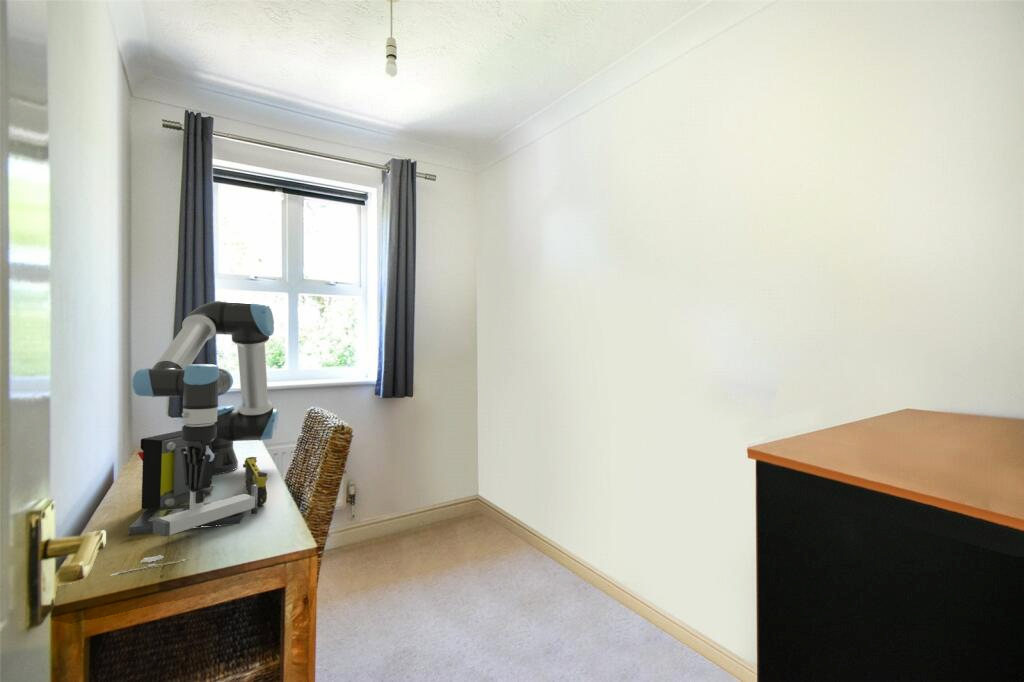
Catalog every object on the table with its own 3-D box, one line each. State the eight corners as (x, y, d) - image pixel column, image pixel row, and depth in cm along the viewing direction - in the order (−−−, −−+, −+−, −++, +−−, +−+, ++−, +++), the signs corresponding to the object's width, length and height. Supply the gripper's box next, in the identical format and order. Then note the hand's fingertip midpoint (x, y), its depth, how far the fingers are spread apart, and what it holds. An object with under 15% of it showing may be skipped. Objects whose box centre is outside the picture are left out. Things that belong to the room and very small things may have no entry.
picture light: (108, 578, 96) (108, 568, 96) (111, 570, 100) (111, 560, 100) (190, 561, 105) (191, 552, 105) (190, 554, 108) (190, 545, 108)
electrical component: (165, 511, 132) (167, 440, 132) (135, 508, 134) (137, 438, 134) (216, 492, 149) (218, 429, 150) (189, 489, 152) (191, 427, 152)
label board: (148, 515, 129) (149, 486, 129) (260, 505, 139) (260, 478, 139) (128, 535, 116) (129, 502, 116) (253, 522, 126) (254, 492, 126)
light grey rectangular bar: (243, 504, 132) (243, 493, 132) (254, 508, 130) (255, 496, 130) (152, 532, 112) (153, 519, 112) (164, 537, 110) (165, 523, 110)
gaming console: (241, 486, 156) (242, 456, 156) (255, 484, 159) (256, 455, 159) (251, 510, 136) (252, 475, 136) (267, 507, 138) (268, 473, 138)
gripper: (170, 422, 122) (167, 513, 122) (198, 429, 115) (194, 524, 115) (201, 419, 128) (198, 505, 128) (229, 424, 122) (225, 515, 122)
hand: (196, 514), depth 122 cm, fingers closed
